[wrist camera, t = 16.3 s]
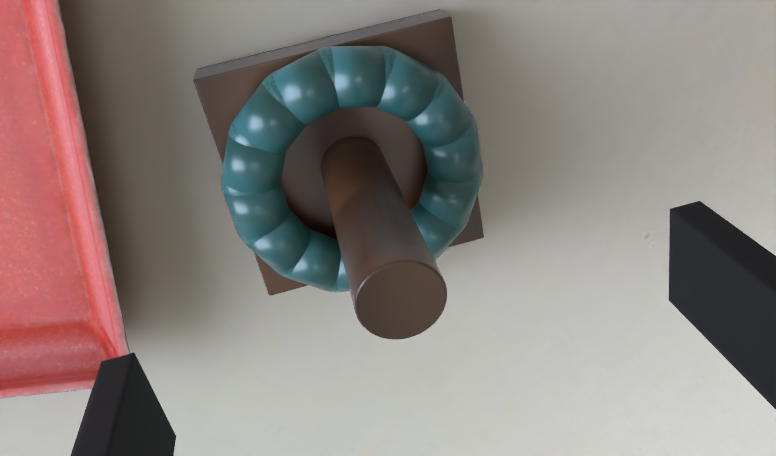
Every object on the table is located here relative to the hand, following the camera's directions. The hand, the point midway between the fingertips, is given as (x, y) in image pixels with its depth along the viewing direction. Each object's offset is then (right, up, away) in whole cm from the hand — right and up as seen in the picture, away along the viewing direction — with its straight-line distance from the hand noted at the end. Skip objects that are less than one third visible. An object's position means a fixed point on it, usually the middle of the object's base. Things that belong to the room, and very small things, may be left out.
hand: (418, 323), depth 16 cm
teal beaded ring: (-2, +4, +8) cm, 9 cm away
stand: (-2, +5, +10) cm, 11 cm away
